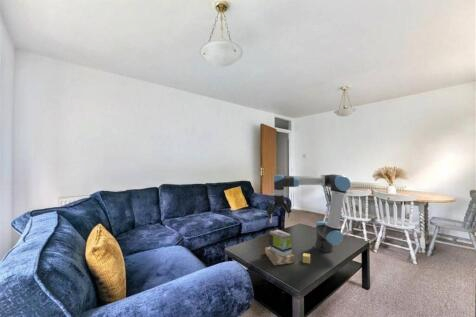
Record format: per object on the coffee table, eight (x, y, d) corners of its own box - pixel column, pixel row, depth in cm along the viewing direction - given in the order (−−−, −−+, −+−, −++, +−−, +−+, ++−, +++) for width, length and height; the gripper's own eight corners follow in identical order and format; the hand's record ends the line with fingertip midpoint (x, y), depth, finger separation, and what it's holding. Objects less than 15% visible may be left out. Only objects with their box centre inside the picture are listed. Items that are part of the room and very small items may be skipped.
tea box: (292, 253, 157) (292, 234, 157) (282, 257, 151) (282, 237, 151) (278, 246, 169) (278, 228, 169) (269, 249, 164) (268, 231, 164)
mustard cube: (310, 260, 156) (310, 254, 156) (309, 263, 151) (309, 257, 152) (303, 259, 158) (303, 252, 158) (302, 262, 153) (302, 255, 154)
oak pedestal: (283, 251, 172) (283, 245, 172) (294, 262, 153) (294, 255, 153) (265, 253, 168) (265, 247, 168) (274, 265, 150) (274, 258, 150)
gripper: (291, 193, 167) (291, 219, 167) (262, 194, 162) (262, 221, 162) (295, 194, 160) (296, 222, 160) (265, 196, 155) (265, 224, 154)
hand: (279, 221), depth 161 cm, fingers open, 13 cm apart
